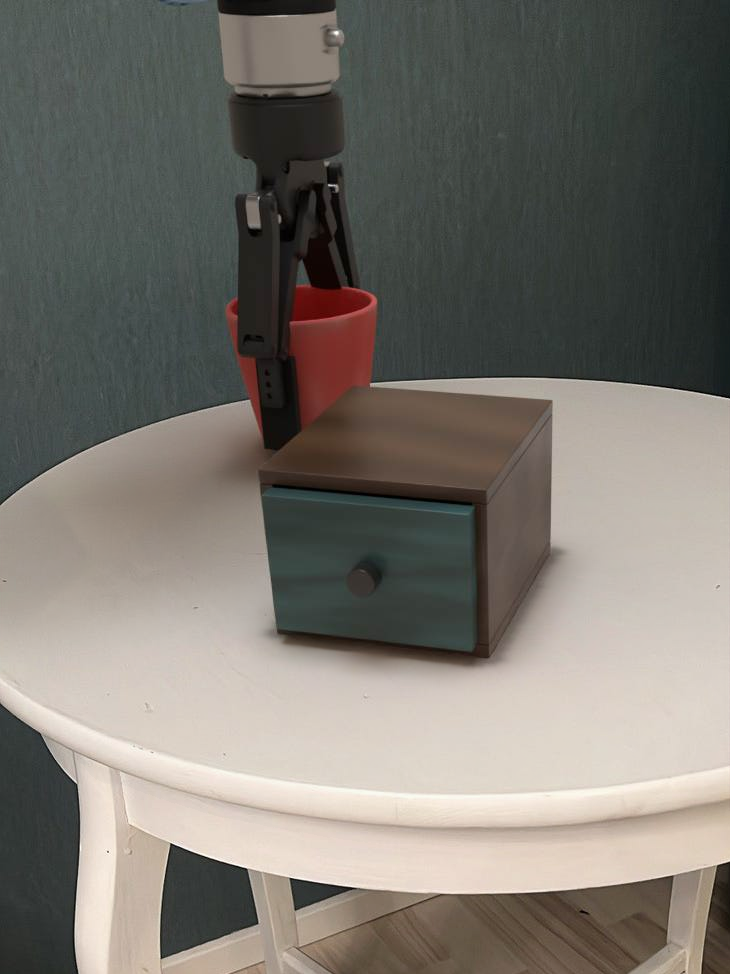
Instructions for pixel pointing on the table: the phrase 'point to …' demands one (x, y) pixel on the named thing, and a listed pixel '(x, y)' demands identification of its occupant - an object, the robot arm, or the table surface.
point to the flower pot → (321, 347)
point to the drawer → (373, 566)
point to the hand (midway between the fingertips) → (311, 424)
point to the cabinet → (440, 477)
